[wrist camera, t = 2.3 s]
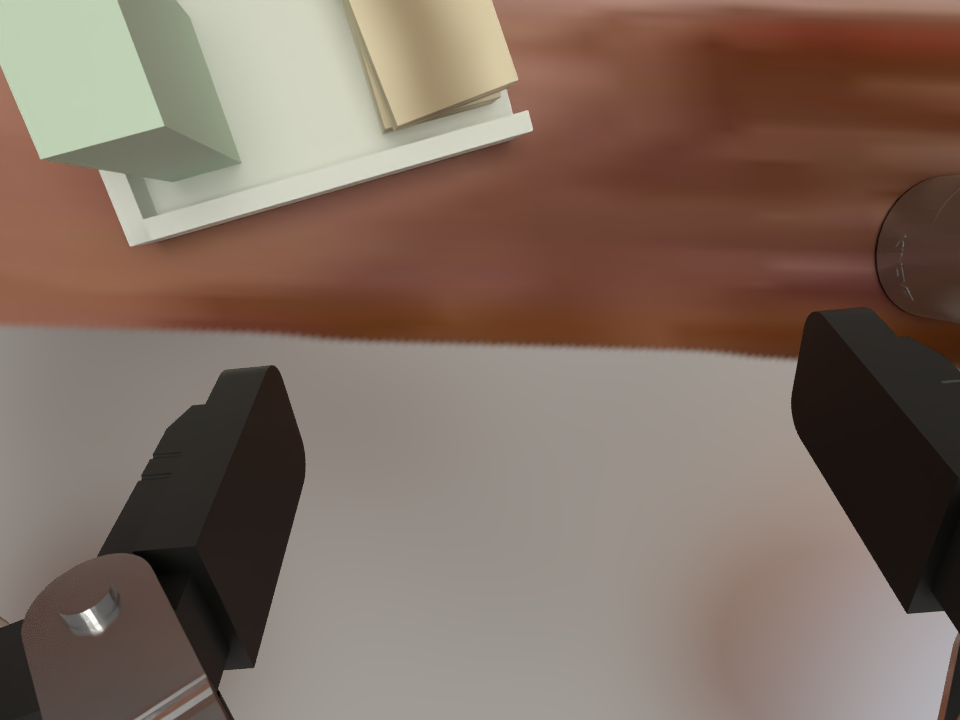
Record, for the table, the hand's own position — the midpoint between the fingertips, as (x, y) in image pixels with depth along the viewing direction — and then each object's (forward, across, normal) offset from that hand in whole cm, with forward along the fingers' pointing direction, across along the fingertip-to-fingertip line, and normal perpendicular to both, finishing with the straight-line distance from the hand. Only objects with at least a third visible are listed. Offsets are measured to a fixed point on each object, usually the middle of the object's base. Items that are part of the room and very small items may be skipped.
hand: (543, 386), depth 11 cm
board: (+27, -15, -1) cm, 31 cm away
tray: (+30, -10, -1) cm, 32 cm away
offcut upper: (+28, -3, +1) cm, 28 cm away
